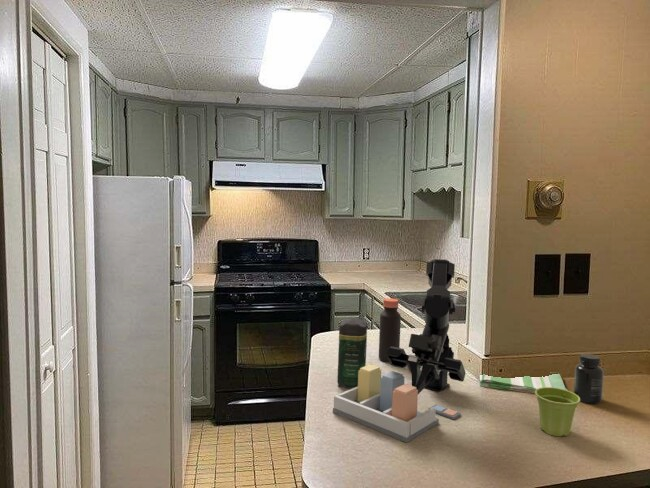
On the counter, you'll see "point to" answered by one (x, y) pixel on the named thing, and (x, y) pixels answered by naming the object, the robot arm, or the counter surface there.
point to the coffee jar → (351, 351)
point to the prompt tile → (446, 412)
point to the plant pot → (556, 410)
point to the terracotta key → (405, 402)
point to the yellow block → (368, 382)
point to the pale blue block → (389, 388)
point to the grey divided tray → (382, 416)
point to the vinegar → (389, 327)
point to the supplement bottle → (589, 379)
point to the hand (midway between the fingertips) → (413, 395)
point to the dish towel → (522, 382)
